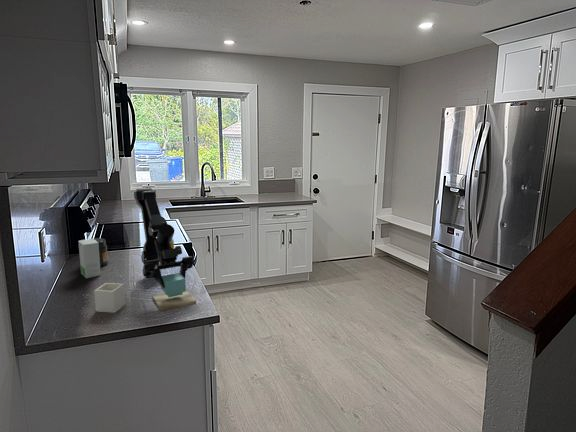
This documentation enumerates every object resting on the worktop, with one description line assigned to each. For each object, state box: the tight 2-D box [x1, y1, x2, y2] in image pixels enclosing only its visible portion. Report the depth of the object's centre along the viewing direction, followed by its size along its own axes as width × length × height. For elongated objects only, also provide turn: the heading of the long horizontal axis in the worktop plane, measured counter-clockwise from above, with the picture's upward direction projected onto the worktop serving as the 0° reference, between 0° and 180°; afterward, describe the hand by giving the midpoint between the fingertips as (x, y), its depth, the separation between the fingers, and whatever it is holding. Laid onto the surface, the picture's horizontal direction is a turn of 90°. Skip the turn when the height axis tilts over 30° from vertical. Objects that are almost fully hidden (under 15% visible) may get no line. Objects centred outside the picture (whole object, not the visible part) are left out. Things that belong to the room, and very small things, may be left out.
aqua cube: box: [160, 272, 187, 297], centre depth 146 cm, size 7×7×6 cm
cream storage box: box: [93, 282, 127, 313], centre depth 141 cm, size 7×7×8 cm
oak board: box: [152, 289, 197, 312], centre depth 147 cm, size 13×13×1 cm
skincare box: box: [78, 238, 102, 279], centre depth 173 cm, size 8×7×16 cm
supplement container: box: [93, 237, 109, 268], centre depth 186 cm, size 10×10×12 cm
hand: (174, 285), depth 145 cm, fingers closed on aqua cube, 7 cm apart
